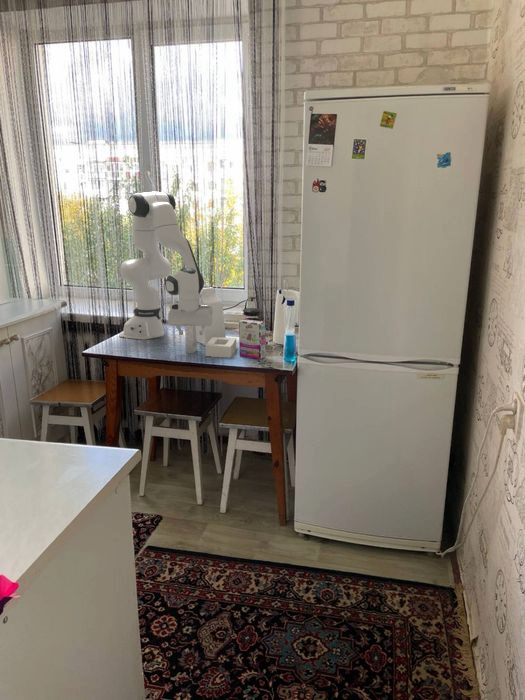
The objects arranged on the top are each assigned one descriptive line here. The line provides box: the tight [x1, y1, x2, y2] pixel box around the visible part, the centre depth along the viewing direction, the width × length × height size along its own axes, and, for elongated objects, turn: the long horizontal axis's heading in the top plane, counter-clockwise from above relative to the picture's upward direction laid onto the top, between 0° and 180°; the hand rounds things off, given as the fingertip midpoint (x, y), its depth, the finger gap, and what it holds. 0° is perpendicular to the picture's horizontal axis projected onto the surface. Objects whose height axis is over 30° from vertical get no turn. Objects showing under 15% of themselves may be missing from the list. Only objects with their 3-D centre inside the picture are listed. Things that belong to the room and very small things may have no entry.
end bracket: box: [184, 325, 198, 354], centre depth 238 cm, size 4×6×13 cm, turn 173°
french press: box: [242, 296, 263, 321], centre depth 247 cm, size 12×9×23 cm
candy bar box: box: [238, 318, 267, 361], centre depth 230 cm, size 11×5×16 cm, turn 59°
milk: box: [196, 287, 227, 346], centre depth 254 cm, size 12×12×26 cm
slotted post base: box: [204, 337, 237, 358], centre depth 238 cm, size 12×14×5 cm
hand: (191, 334), depth 238 cm, fingers open, 8 cm apart
